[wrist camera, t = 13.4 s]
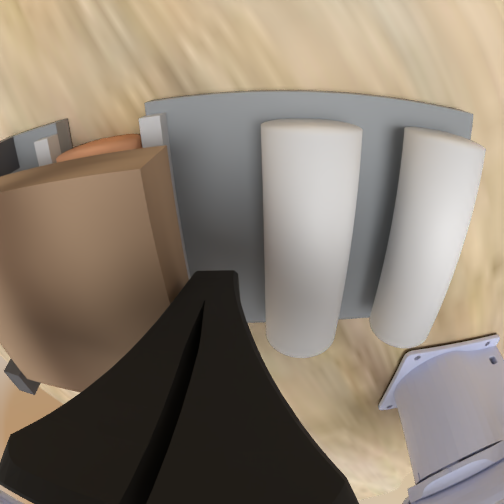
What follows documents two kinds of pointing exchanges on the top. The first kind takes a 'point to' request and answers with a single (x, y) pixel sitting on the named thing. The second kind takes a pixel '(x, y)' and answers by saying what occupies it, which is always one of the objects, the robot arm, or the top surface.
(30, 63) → the top surface
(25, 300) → the walnut slab
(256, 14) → the top surface
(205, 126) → the roller bed
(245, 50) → the top surface
